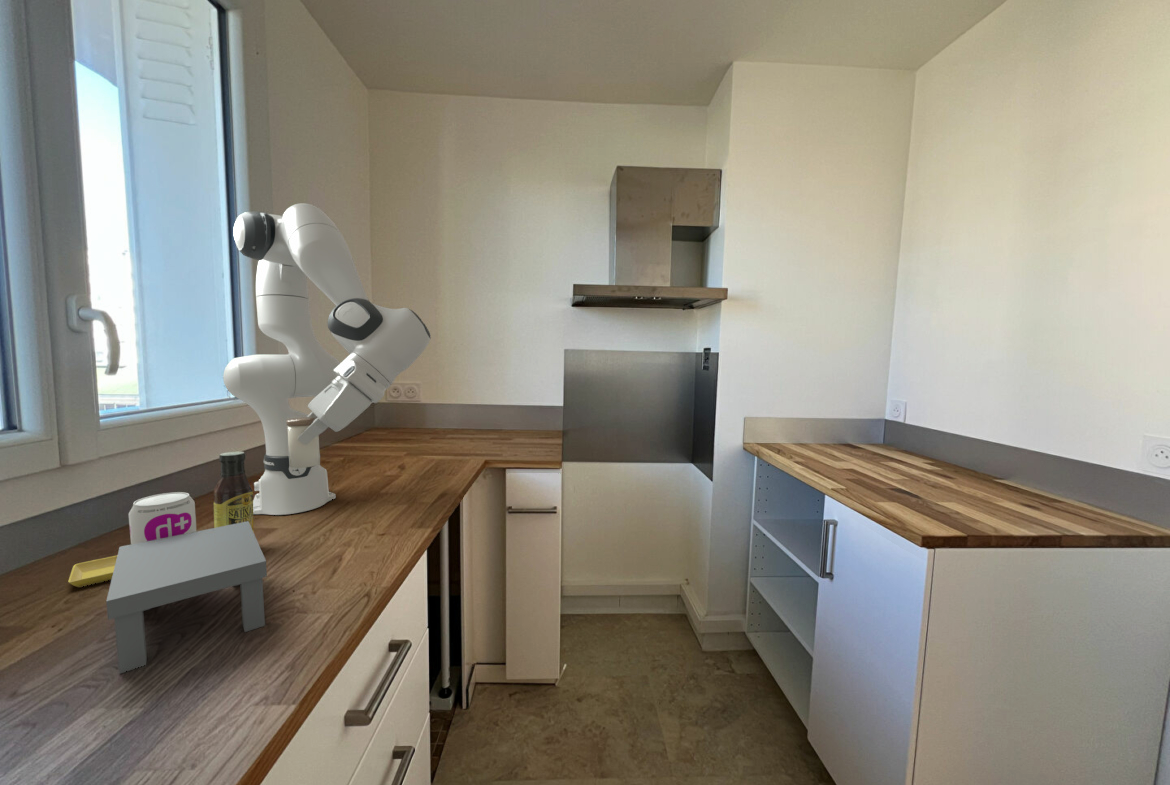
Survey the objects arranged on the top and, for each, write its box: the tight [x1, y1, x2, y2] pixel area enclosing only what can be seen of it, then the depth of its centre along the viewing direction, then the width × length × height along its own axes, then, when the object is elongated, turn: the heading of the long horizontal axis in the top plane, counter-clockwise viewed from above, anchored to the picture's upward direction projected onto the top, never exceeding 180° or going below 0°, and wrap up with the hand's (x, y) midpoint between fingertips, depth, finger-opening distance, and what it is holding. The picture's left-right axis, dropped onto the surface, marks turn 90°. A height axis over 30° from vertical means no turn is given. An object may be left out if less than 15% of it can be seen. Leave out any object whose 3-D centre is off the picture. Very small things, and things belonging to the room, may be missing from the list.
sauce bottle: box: [213, 451, 255, 534], centre depth 90 cm, size 6×6×20 cm
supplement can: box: [128, 491, 198, 545], centre depth 77 cm, size 8×8×15 cm
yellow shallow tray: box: [67, 554, 118, 588], centre depth 81 cm, size 9×9×2 cm
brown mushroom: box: [286, 417, 321, 468], centre depth 78 cm, size 5×5×8 cm
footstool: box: [105, 521, 268, 675], centre depth 68 cm, size 20×16×10 cm
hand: (299, 438), depth 77 cm, fingers closed on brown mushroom, 4 cm apart
